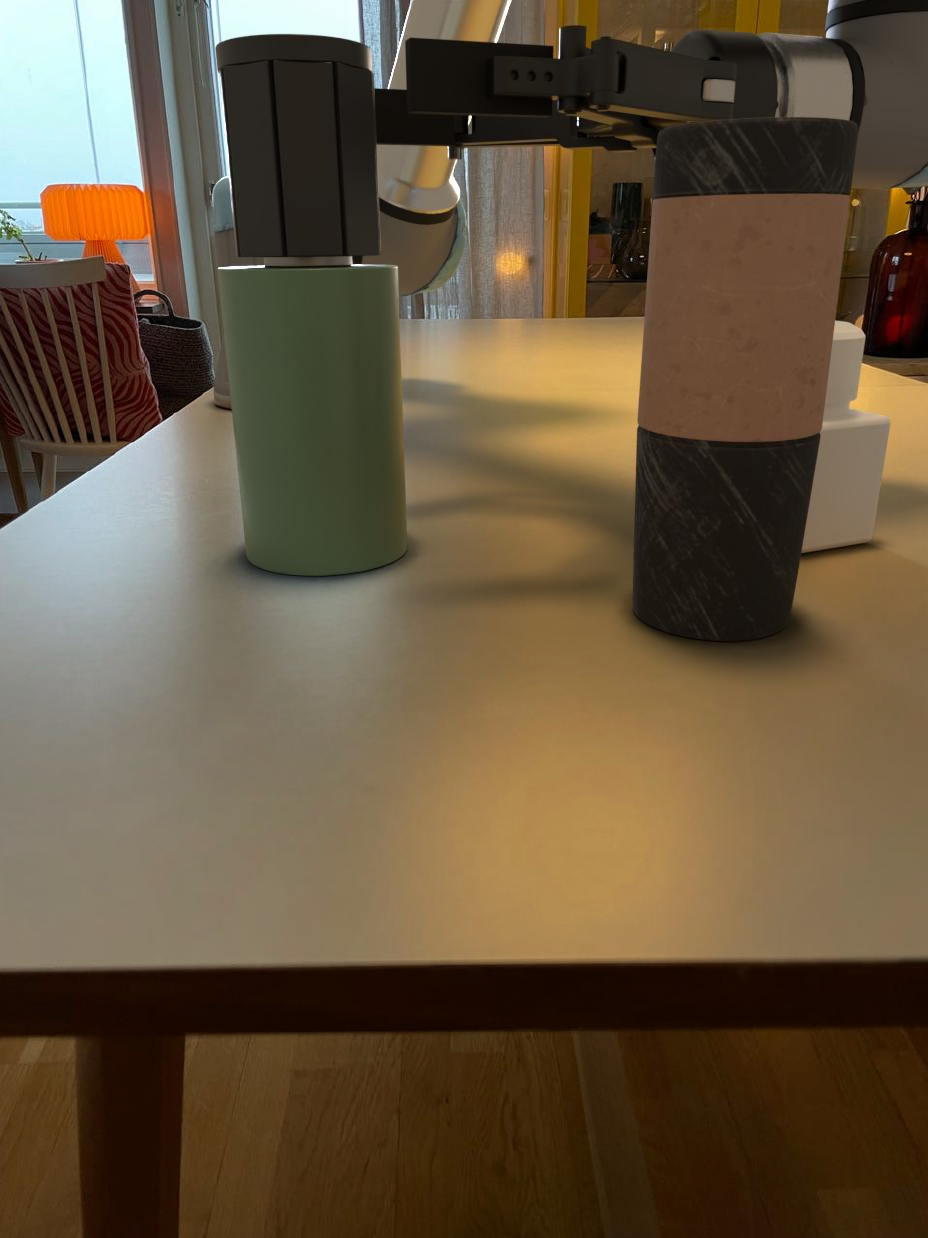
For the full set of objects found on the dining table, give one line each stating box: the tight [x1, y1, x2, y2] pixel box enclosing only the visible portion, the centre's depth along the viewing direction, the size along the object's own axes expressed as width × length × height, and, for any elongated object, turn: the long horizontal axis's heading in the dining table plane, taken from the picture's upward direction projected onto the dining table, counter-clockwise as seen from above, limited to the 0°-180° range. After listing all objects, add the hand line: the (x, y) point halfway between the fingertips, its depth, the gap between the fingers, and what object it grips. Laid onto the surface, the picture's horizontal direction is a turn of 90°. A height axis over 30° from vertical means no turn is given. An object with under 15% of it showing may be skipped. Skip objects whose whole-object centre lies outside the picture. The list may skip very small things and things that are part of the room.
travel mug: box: [632, 117, 858, 642], centre depth 40 cm, size 8×8×20 cm
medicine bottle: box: [801, 319, 892, 554], centre depth 52 cm, size 7×7×12 cm
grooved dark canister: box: [214, 33, 381, 257], centre depth 45 cm, size 7×7×9 cm
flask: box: [217, 256, 408, 577], centre depth 48 cm, size 9×9×24 cm
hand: (368, 98), depth 46 cm, fingers open, 13 cm apart
